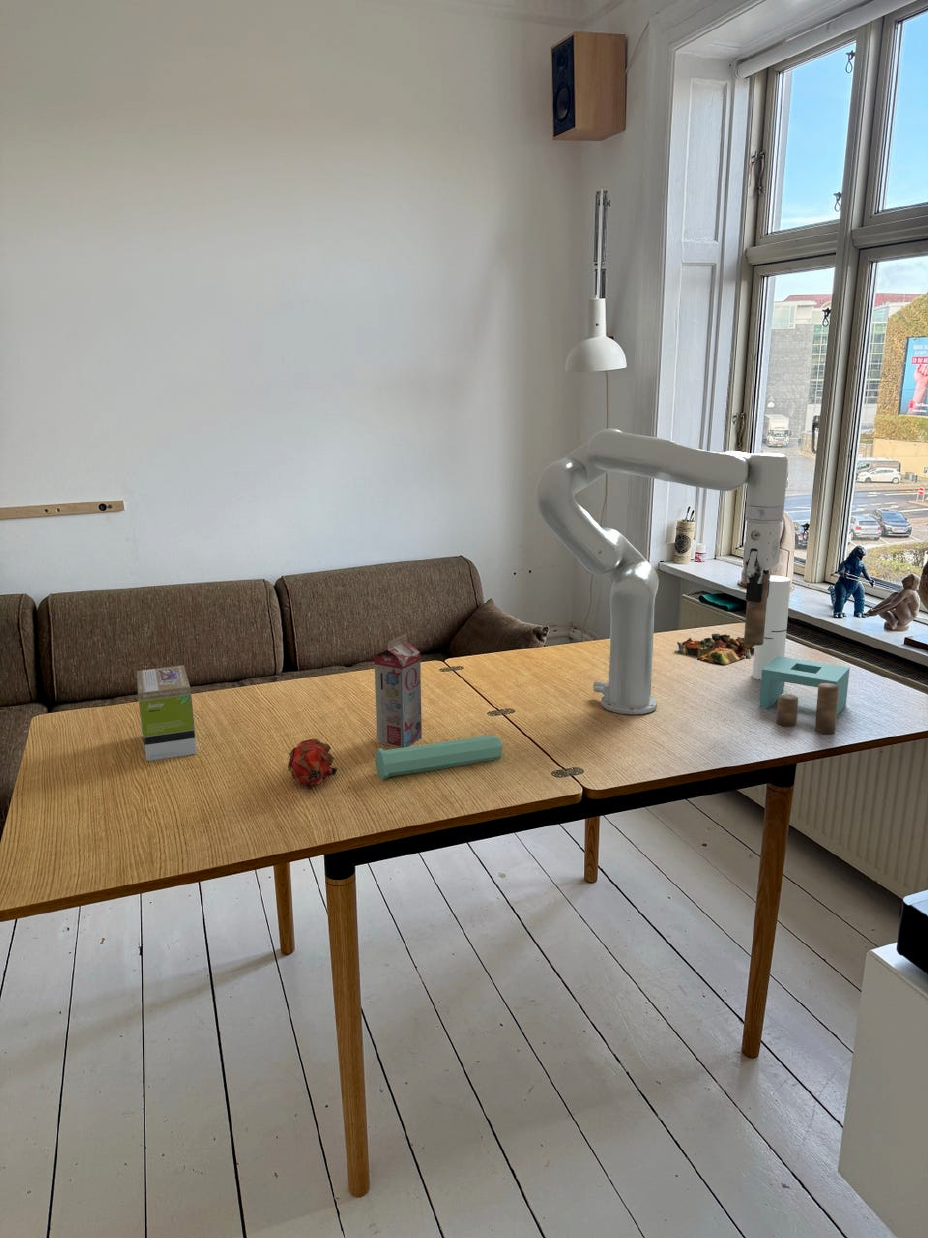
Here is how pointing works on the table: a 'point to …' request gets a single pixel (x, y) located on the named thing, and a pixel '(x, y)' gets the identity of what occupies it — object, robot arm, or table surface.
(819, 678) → the teal bridge
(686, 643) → the food
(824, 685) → the medium pin
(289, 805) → the table surface
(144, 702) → the tea box
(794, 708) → the short pin
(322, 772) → the dragon fruit
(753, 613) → the tall pin
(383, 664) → the juice carton
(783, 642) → the cylindrical container
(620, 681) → the robot arm
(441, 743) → the container
